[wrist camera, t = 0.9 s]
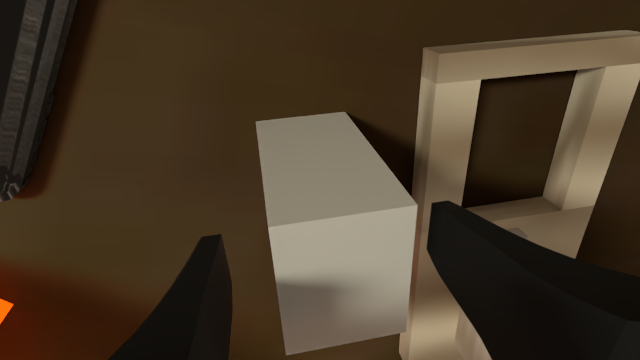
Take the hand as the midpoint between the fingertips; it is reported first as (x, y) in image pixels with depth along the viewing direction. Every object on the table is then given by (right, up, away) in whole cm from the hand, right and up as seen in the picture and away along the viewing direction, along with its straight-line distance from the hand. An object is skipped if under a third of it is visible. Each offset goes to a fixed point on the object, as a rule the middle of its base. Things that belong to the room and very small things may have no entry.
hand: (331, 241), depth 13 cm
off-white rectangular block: (-1, +3, +5) cm, 6 cm away
